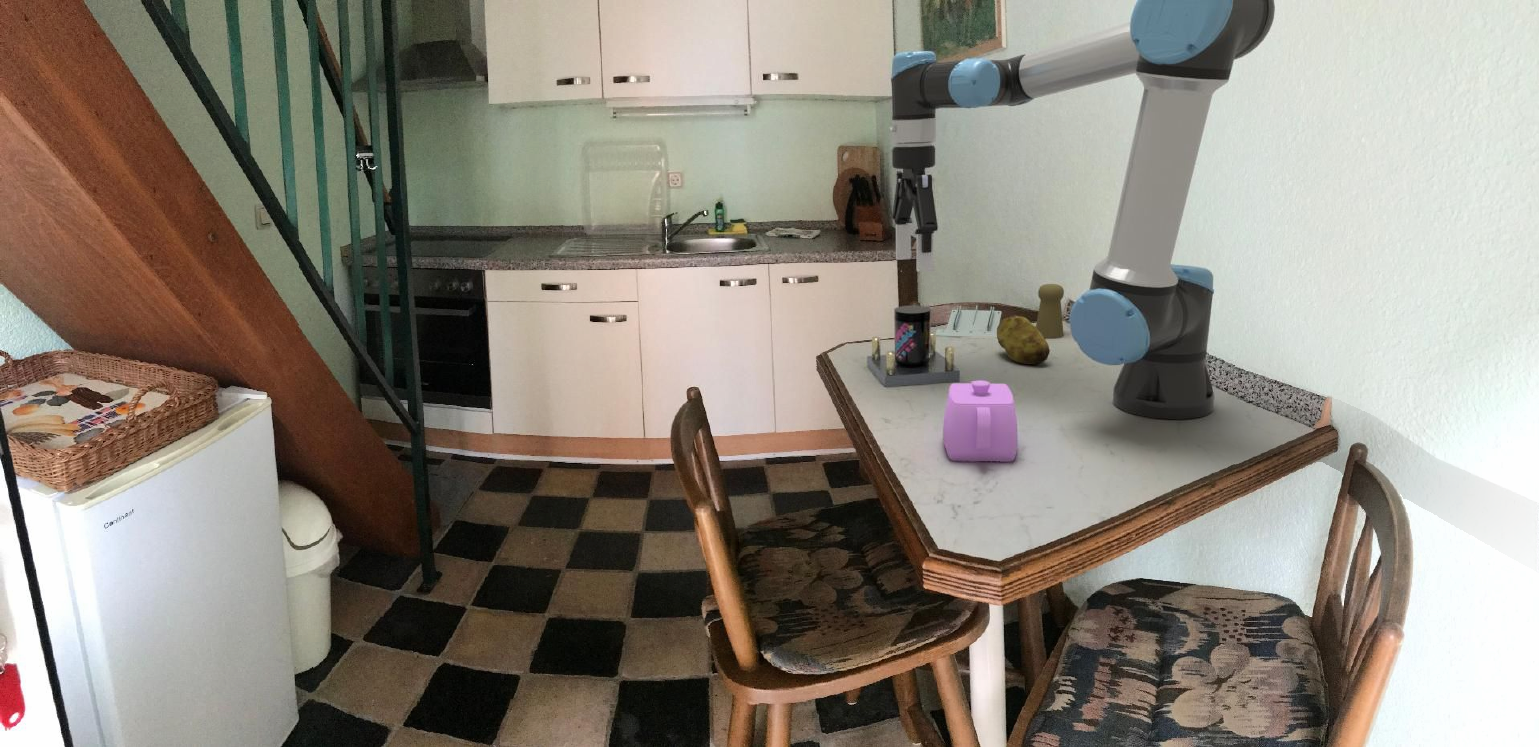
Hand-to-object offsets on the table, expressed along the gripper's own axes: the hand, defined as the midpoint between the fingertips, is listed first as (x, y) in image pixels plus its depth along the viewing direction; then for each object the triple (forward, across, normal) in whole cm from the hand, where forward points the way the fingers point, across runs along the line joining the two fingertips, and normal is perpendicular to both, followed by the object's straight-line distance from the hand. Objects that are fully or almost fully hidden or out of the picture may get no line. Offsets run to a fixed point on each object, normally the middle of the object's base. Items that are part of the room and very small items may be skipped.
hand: (913, 264), depth 163 cm
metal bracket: (+21, -28, +22) cm, 41 cm away
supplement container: (+19, 0, 0) cm, 19 cm away
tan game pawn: (+21, -20, +36) cm, 46 cm away
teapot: (+21, +39, -2) cm, 44 cm away
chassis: (+21, 0, 0) cm, 21 cm away
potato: (+21, -4, +23) cm, 31 cm away
